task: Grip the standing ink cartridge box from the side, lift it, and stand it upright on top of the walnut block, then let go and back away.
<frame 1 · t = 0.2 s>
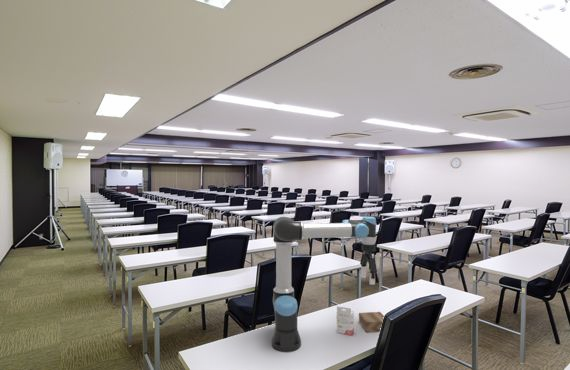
hand: (367, 281, 183), 27 cm above the table, tool pointing down, fingers open, 13 cm apart
ink cartridge box: (345, 332, 179), on the table
walnut block: (373, 327, 186), on the table
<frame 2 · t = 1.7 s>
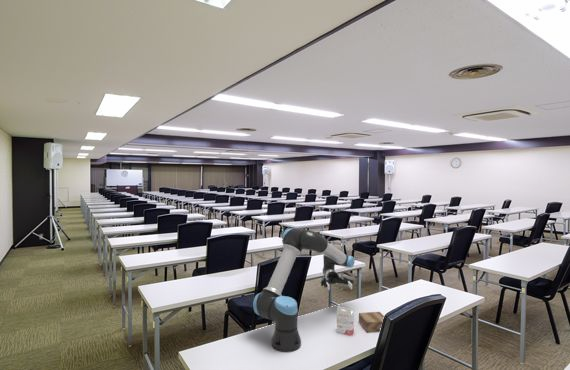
hand: (340, 287, 190), 22 cm above the table, tool horizontal, fingers open, 13 cm apart
nothing on the table moved.
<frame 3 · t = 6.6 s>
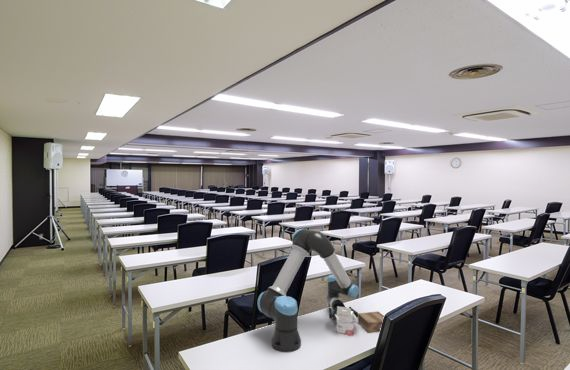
hand: (347, 321, 175), 8 cm above the table, tool horizontal, fingers closed on ink cartridge box, 9 cm apart
ink cartridge box: (345, 332, 179), on the table, touching gripper
everything else where it was.
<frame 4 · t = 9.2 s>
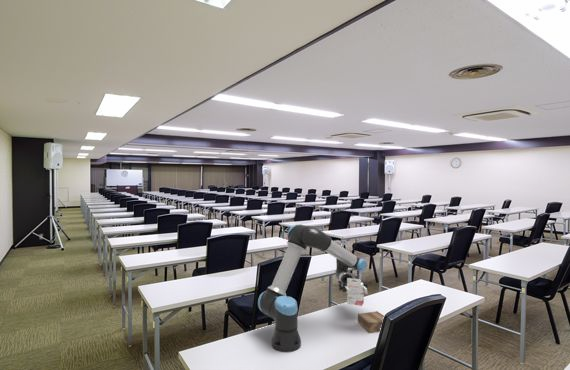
hand: (357, 292, 178), 23 cm above the table, tool horizontal, fingers closed on ink cartridge box, 9 cm apart
ink cartridge box: (355, 303, 182), point 15 cm above the table, touching gripper
everything else where it was.
when the fingers open (15 cm above the table, at t = 12.3 s): ink cartridge box drops 2 cm, point 5 cm above the table.
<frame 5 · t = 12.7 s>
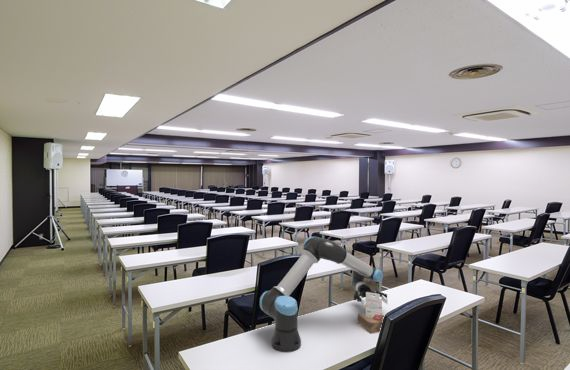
hand: (375, 302, 182), 15 cm above the table, tool horizontal, fingers open, 13 cm apart
ink cartridge box: (373, 317, 186), point 5 cm above the table
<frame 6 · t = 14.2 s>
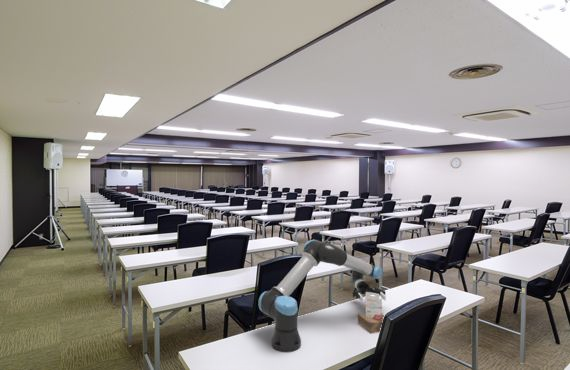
hand: (373, 298, 187), 16 cm above the table, tool horizontal, fingers open, 13 cm apart
ink cartridge box: (373, 317, 186), point 5 cm above the table, touching walnut block
walnut block: (373, 327, 186), on the table, touching ink cartridge box
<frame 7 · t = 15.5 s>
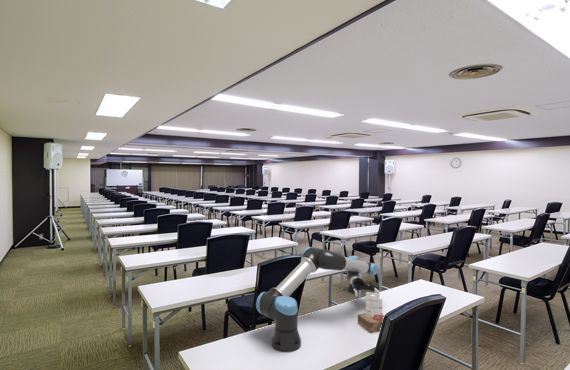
hand: (368, 294, 195), 16 cm above the table, tool horizontal, fingers open, 13 cm apart
nothing on the table moved.
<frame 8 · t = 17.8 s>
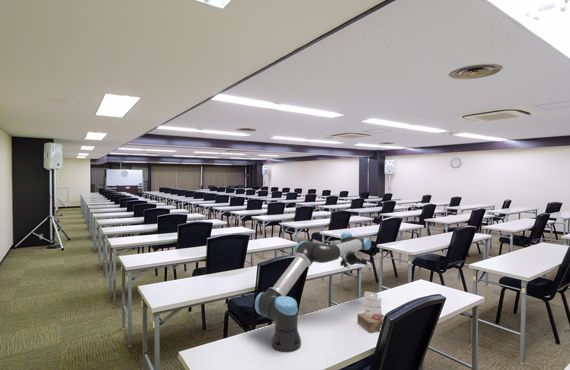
hand: (360, 266, 197), 32 cm above the table, tool horizontal, fingers open, 13 cm apart
ink cartridge box: (372, 316, 186), point 5 cm above the table
walnut block: (373, 327, 186), on the table
at the end: ink cartridge box inside the target area on the walnut block (0.1 cm from its centre), point 5.8 cm above the walnut block's base; ink cartridge box tilted 1°; the gripper is holding nothing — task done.
